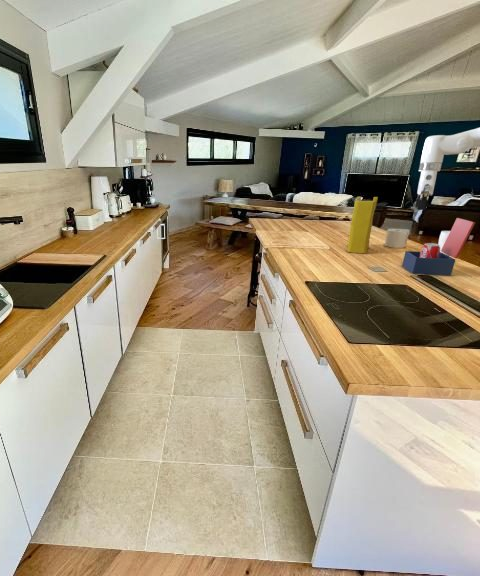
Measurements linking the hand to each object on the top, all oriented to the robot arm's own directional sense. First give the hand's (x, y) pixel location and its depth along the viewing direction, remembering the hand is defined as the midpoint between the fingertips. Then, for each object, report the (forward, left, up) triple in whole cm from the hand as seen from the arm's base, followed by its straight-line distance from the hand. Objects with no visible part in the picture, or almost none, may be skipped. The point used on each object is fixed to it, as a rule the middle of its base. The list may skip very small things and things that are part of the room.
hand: (420, 208), depth 139 cm
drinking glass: (-31, -7, -29) cm, 43 cm away
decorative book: (-9, -40, -29) cm, 50 cm away
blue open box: (-8, +4, -29) cm, 30 cm away
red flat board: (-15, +8, -13) cm, 21 cm away
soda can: (-8, +4, -28) cm, 30 cm away
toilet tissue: (-37, -40, -29) cm, 62 cm away
